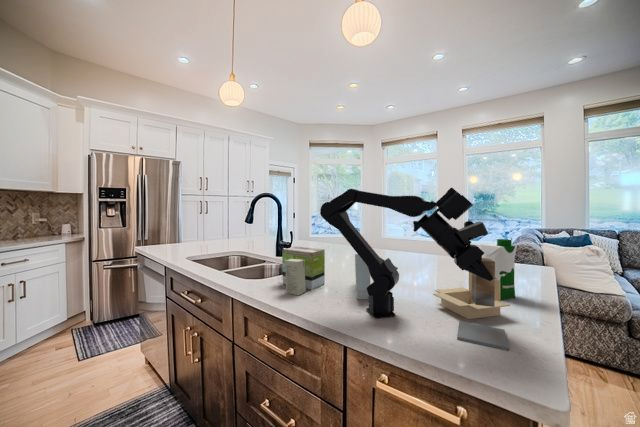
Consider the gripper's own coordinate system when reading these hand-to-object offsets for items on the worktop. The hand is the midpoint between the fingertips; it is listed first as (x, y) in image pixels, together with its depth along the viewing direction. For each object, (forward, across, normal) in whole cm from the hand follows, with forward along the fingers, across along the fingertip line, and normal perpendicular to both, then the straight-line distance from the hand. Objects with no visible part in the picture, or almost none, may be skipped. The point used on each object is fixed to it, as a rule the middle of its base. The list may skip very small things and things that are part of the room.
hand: (489, 277), depth 67 cm
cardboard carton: (+7, +12, +12) cm, 19 cm away
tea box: (-33, +23, +53) cm, 66 cm away
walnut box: (+4, 0, +6) cm, 7 cm away
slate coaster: (+8, -4, +11) cm, 14 cm away
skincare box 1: (-32, +12, +52) cm, 62 cm away
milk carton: (+17, +31, +2) cm, 35 cm away
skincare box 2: (-16, +23, +36) cm, 45 cm away
